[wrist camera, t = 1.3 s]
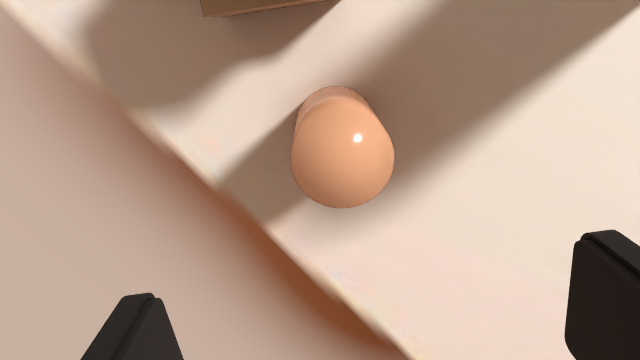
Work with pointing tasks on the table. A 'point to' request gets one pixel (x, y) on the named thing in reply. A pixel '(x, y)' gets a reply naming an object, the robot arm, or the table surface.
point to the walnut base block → (245, 6)
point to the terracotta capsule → (340, 149)
